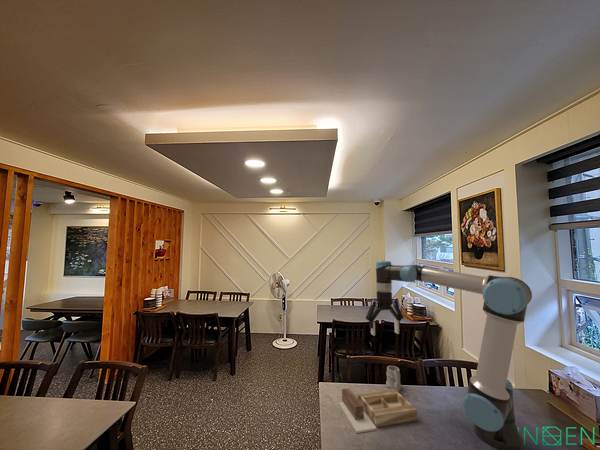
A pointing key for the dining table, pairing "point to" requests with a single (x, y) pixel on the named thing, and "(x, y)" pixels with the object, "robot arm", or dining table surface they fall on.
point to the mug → (393, 378)
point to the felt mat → (358, 420)
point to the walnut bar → (353, 404)
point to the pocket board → (387, 407)
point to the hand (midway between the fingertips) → (385, 334)
